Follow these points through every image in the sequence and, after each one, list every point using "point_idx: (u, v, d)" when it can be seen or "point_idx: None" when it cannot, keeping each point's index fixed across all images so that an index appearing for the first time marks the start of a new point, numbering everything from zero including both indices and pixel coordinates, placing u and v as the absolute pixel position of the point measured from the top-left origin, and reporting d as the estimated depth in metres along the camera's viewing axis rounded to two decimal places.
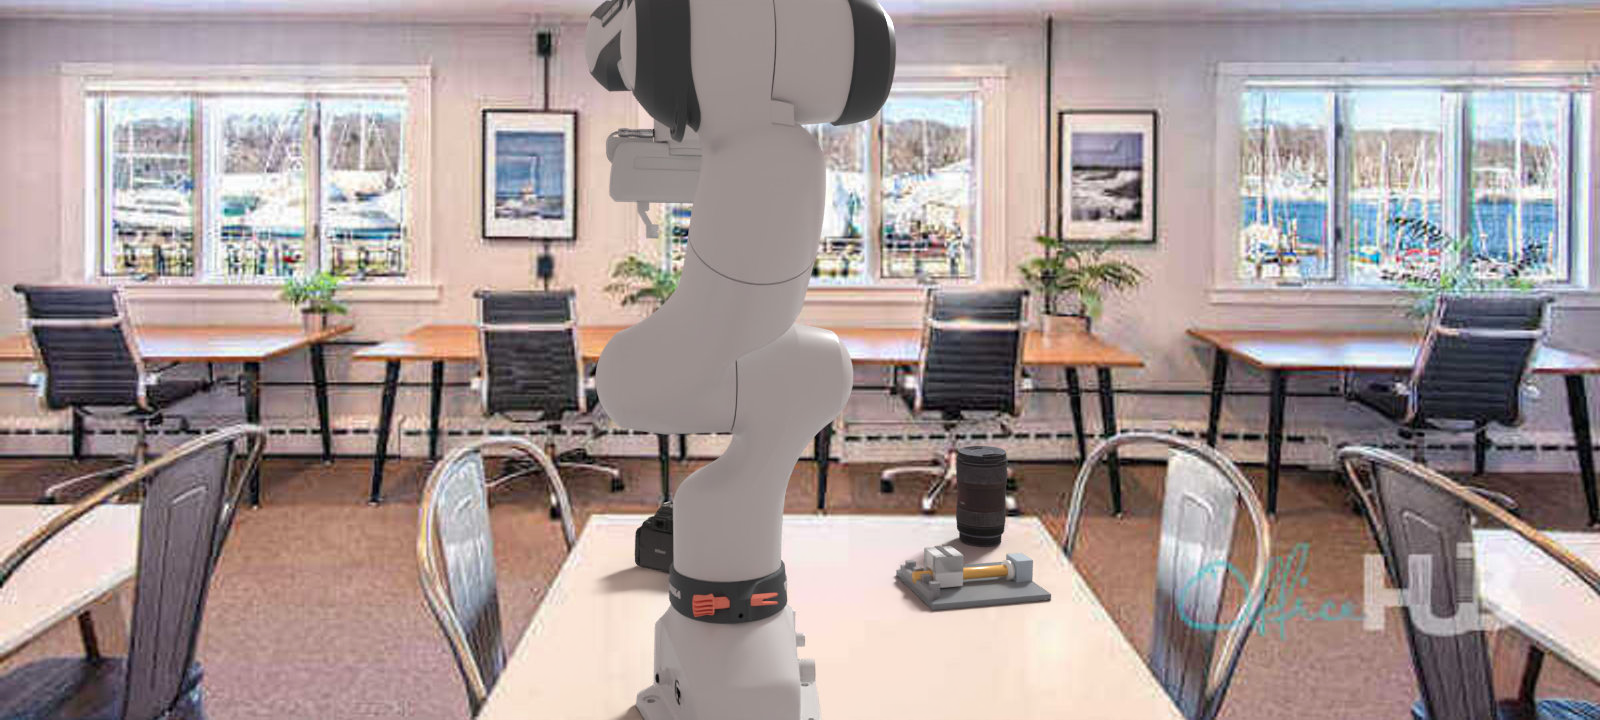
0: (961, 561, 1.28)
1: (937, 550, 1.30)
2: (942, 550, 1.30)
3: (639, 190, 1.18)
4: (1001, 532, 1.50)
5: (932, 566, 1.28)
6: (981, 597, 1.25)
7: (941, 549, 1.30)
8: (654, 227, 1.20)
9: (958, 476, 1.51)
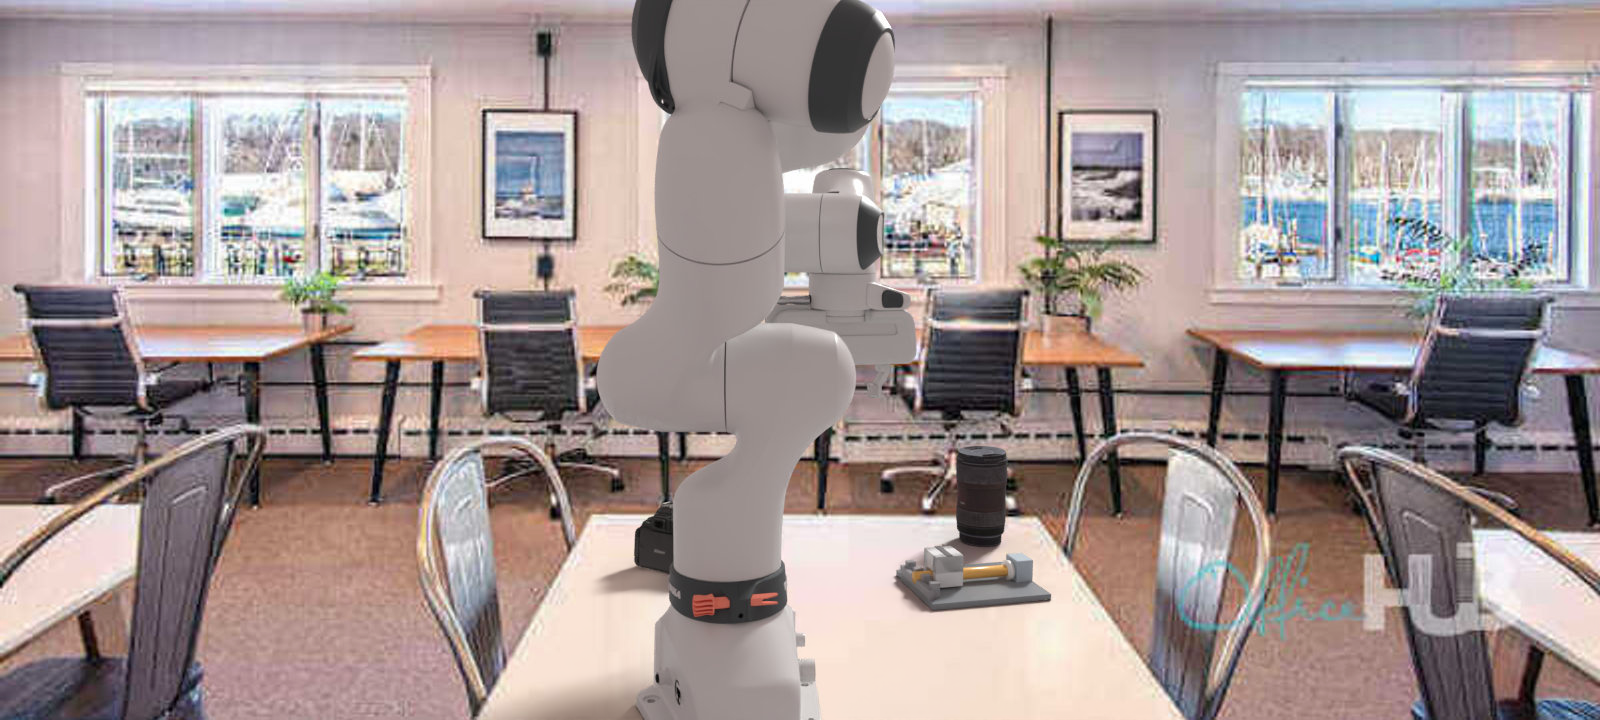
0: (961, 561, 1.28)
1: (937, 550, 1.30)
2: (942, 550, 1.30)
3: None
4: (1001, 532, 1.50)
5: (932, 566, 1.28)
6: (981, 597, 1.25)
7: (941, 549, 1.30)
8: None
9: (958, 476, 1.51)
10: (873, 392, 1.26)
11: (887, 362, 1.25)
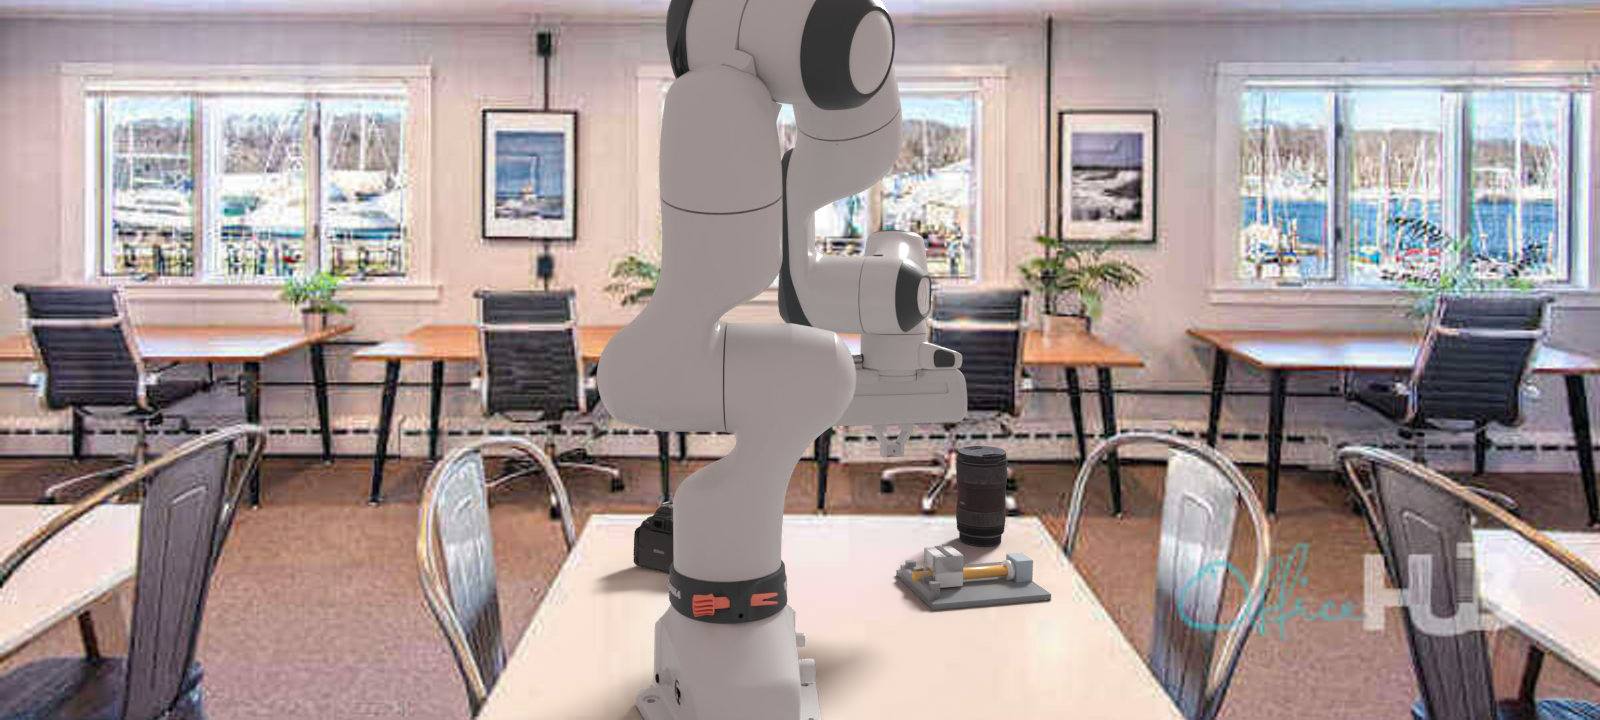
0: (961, 561, 1.28)
1: (937, 550, 1.30)
2: (942, 550, 1.30)
3: (850, 416, 1.22)
4: (1001, 532, 1.50)
5: (932, 566, 1.28)
6: (981, 597, 1.25)
7: (941, 549, 1.30)
8: (890, 448, 1.25)
9: (958, 476, 1.51)
10: (896, 451, 1.25)
11: (938, 420, 1.25)
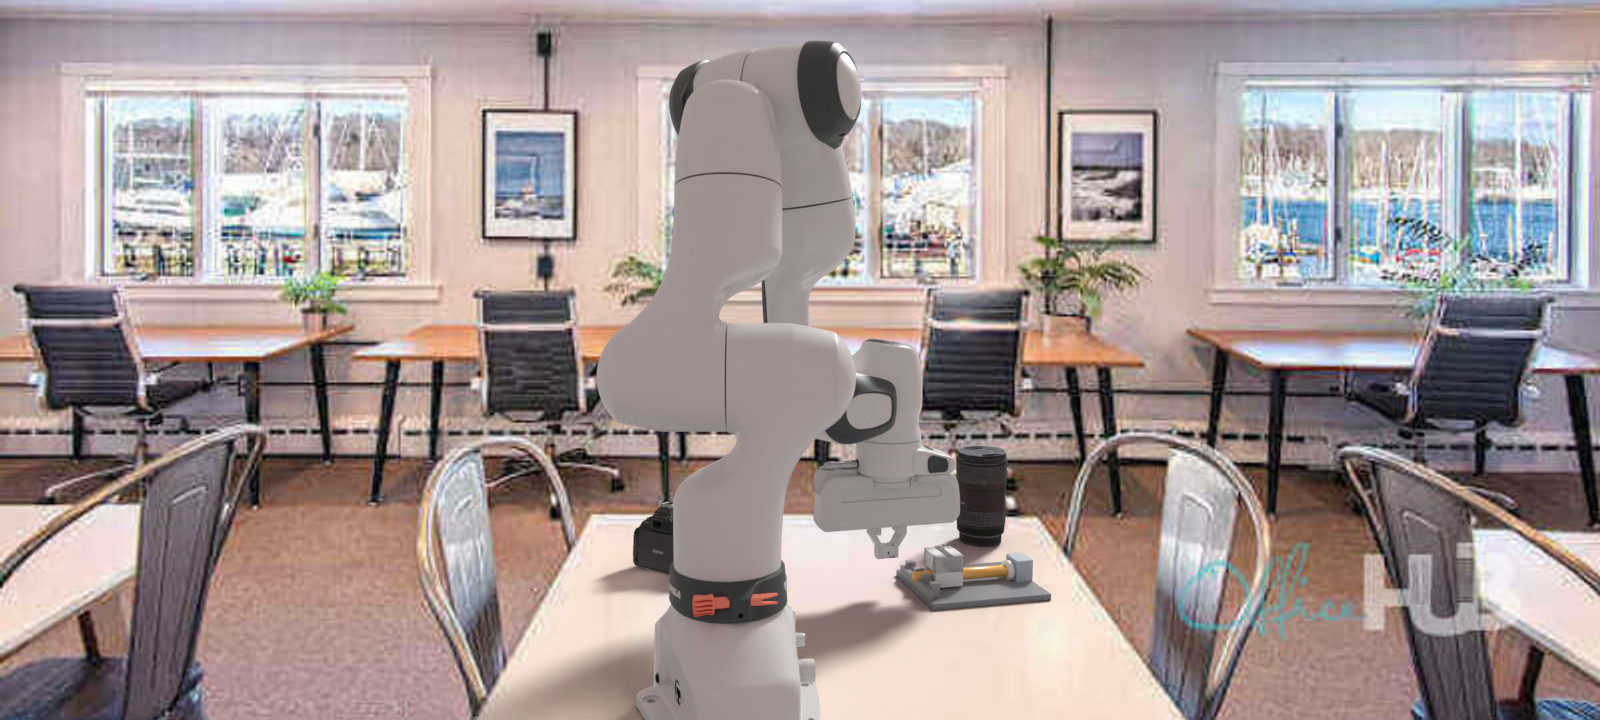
0: (961, 561, 1.28)
1: (937, 550, 1.30)
2: (942, 550, 1.30)
3: (845, 522, 1.24)
4: (1001, 532, 1.50)
5: (932, 566, 1.28)
6: (981, 597, 1.25)
7: (941, 549, 1.30)
8: (885, 550, 1.27)
9: (958, 476, 1.51)
10: (890, 553, 1.28)
11: (932, 522, 1.28)
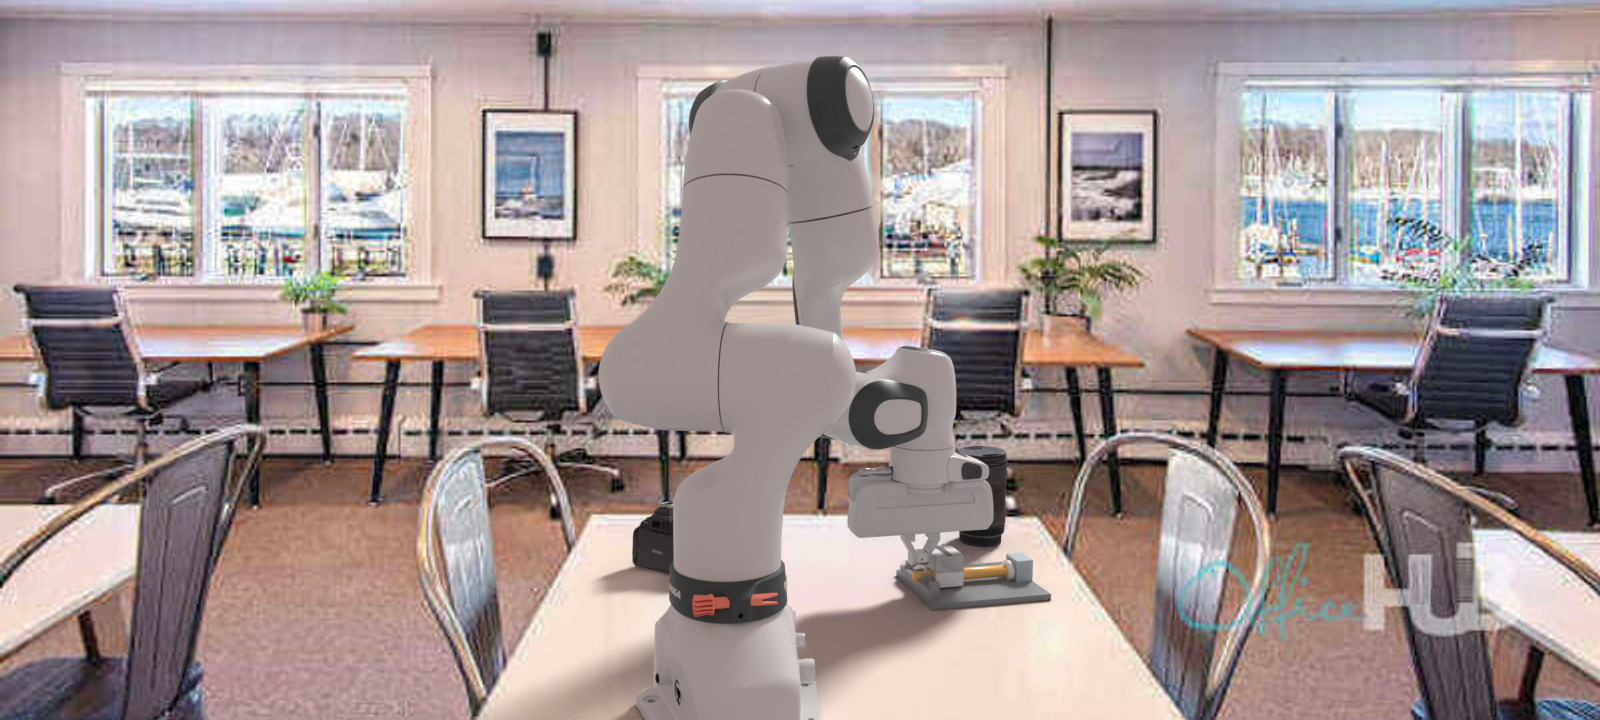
0: (962, 561, 1.28)
1: (938, 550, 1.30)
2: (943, 550, 1.30)
3: (880, 528, 1.25)
4: (1001, 532, 1.50)
5: (933, 566, 1.28)
6: (981, 597, 1.25)
7: (942, 549, 1.30)
8: (918, 556, 1.28)
9: None
10: (924, 559, 1.28)
11: (965, 529, 1.28)
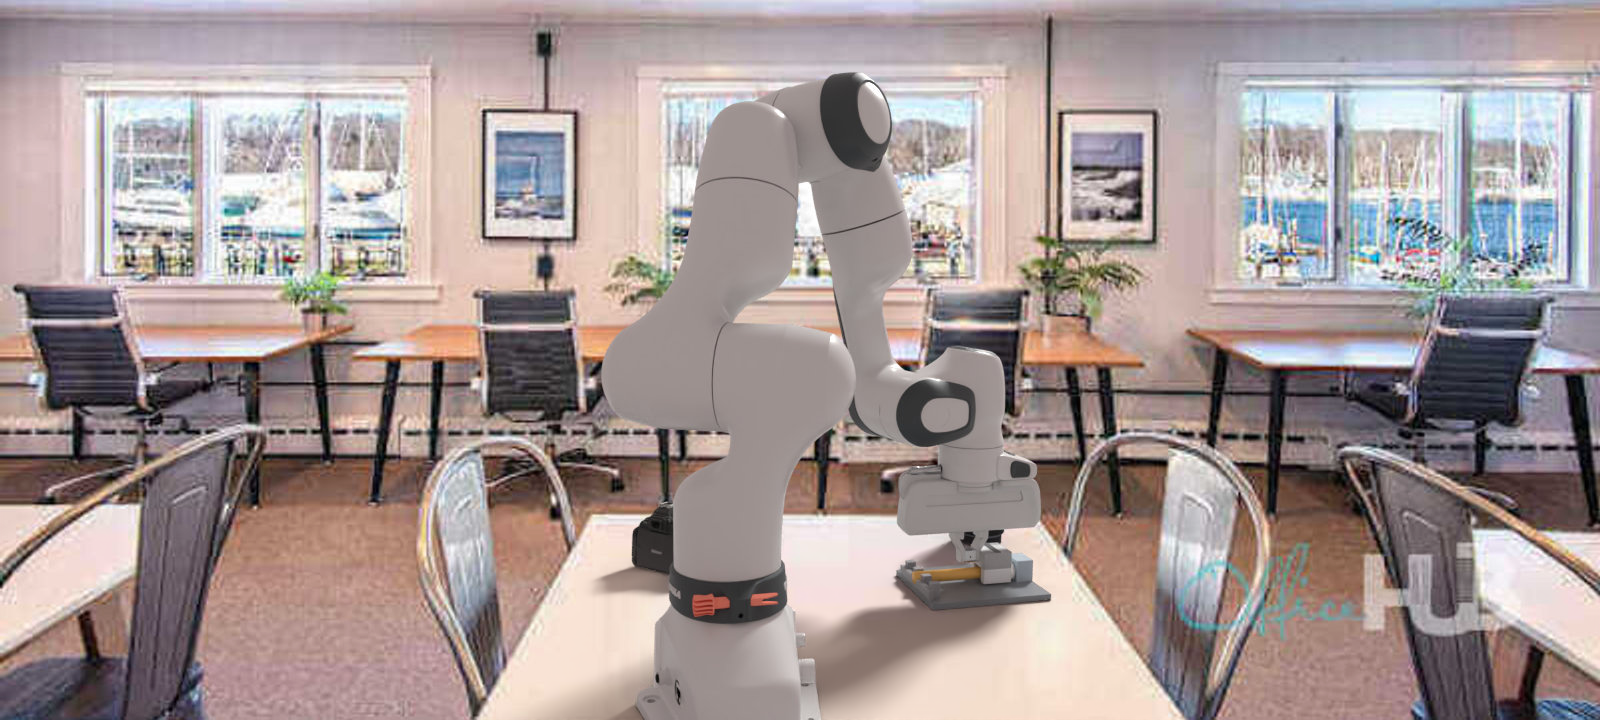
0: (1009, 557, 1.30)
1: (985, 547, 1.32)
2: (990, 547, 1.31)
3: (929, 526, 1.27)
4: (1001, 532, 1.50)
5: (981, 562, 1.30)
6: (981, 597, 1.25)
7: (989, 546, 1.32)
8: (967, 554, 1.30)
9: None
10: (972, 557, 1.30)
11: (1013, 527, 1.30)
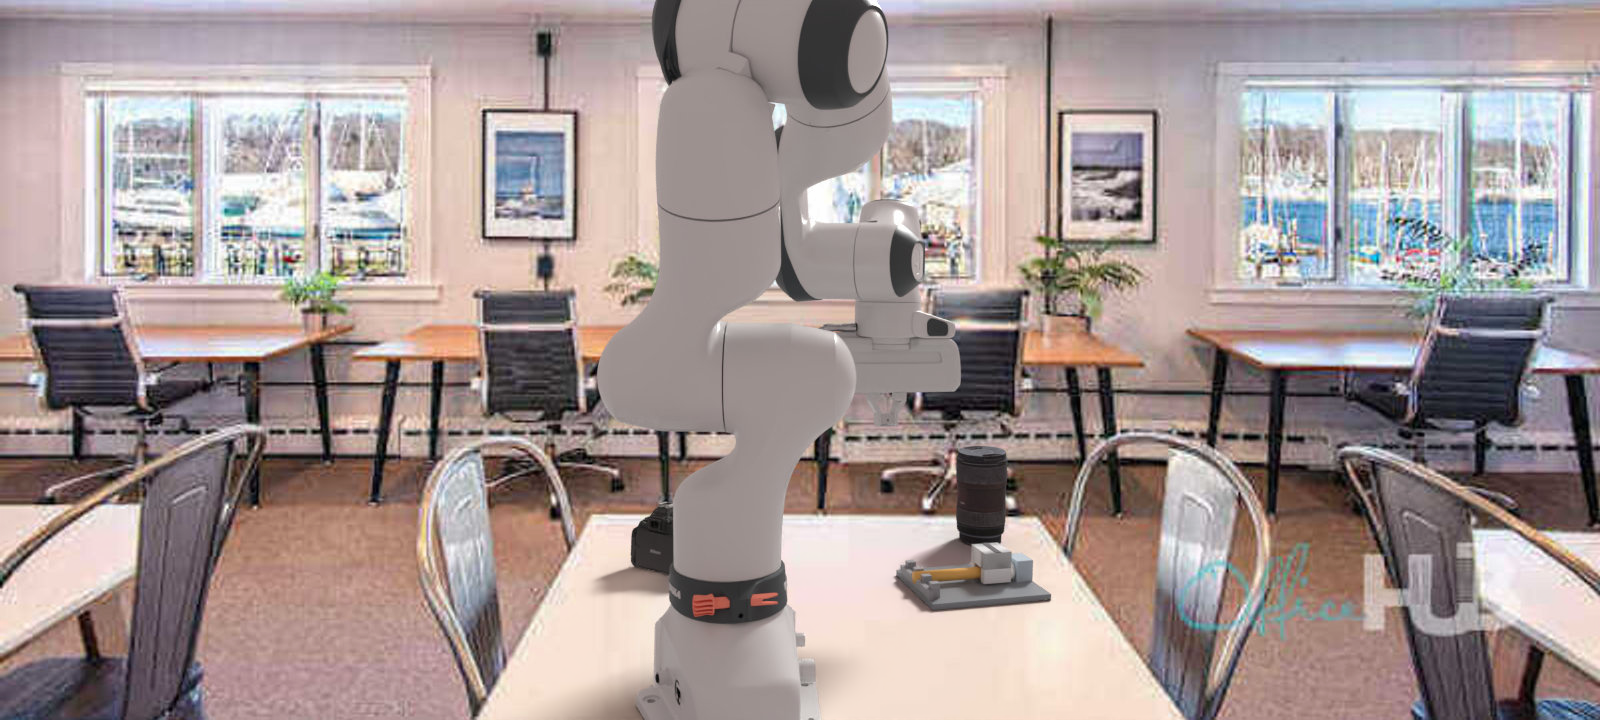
0: (1009, 557, 1.30)
1: (985, 547, 1.32)
2: (990, 547, 1.31)
3: None
4: (1001, 532, 1.50)
5: (981, 562, 1.30)
6: (981, 597, 1.25)
7: (989, 546, 1.32)
8: (884, 416, 1.26)
9: (958, 476, 1.51)
10: (889, 420, 1.26)
11: (932, 390, 1.26)
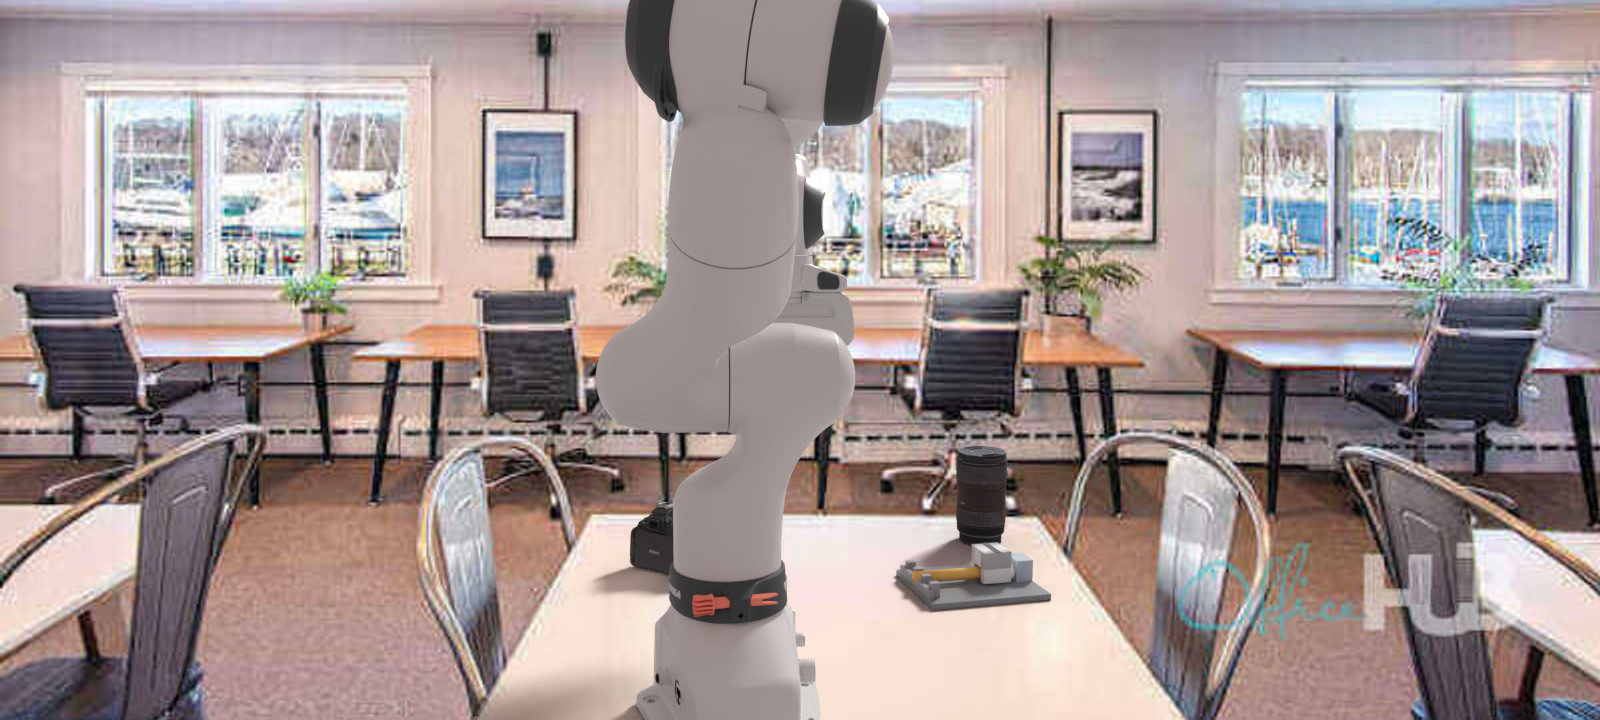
0: (1009, 557, 1.30)
1: (985, 547, 1.32)
2: (990, 547, 1.31)
3: None
4: (1001, 532, 1.50)
5: (981, 562, 1.30)
6: (981, 597, 1.25)
7: (989, 546, 1.32)
8: None
9: (958, 476, 1.51)
10: None
11: None
